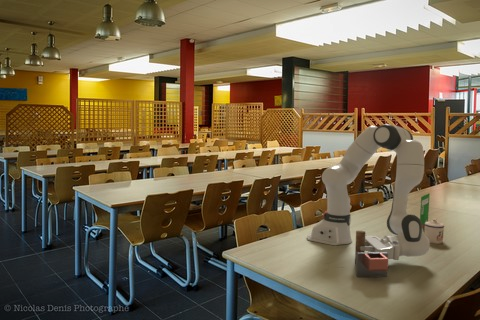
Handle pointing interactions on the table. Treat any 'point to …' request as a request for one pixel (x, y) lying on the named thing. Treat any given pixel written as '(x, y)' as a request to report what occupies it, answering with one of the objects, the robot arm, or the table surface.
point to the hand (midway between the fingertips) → (358, 246)
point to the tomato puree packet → (424, 209)
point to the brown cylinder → (359, 241)
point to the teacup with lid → (434, 231)
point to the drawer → (371, 264)
